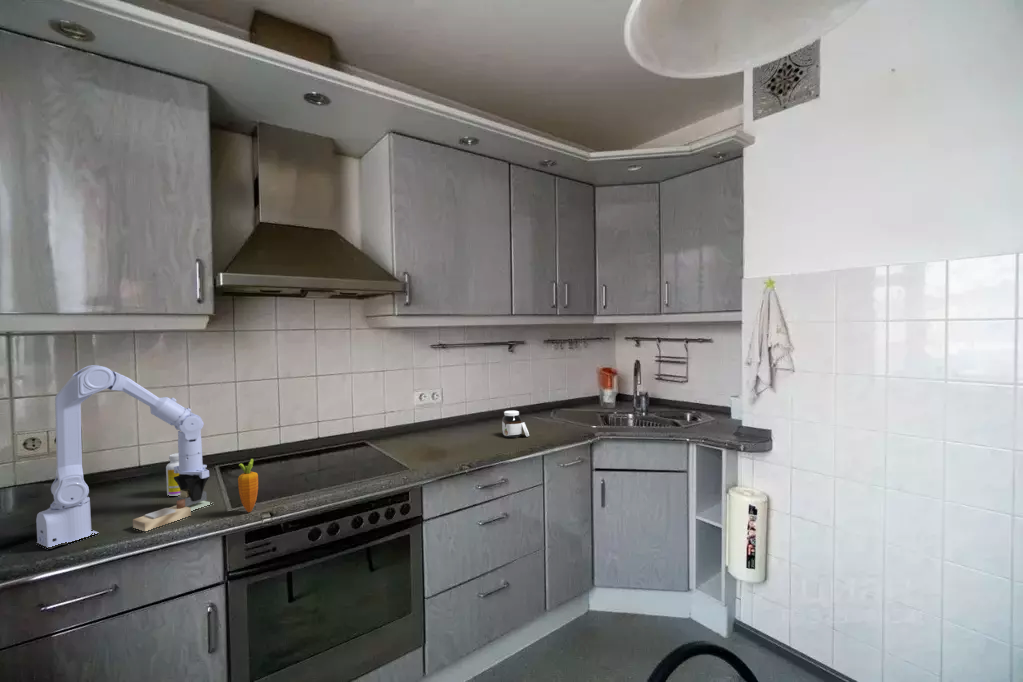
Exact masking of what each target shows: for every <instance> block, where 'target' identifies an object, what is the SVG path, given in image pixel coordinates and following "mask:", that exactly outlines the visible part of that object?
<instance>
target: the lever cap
mask: <svg viewBox="0 0 1023 682" xmlns="http://www.w3.org/2000/svg"><path fill="white" fill-rule="evenodd" d="M207 497H208V495H207V491H205V490H203V493H202V497H201V500H198V501H194V502H193V501H192V498H191V493H190V489H187V488H185V489H182V490H180V496H178V497H176V501H177V500H180V499H185V507H186V506H189V505H192V504H195V503H198V502H201V501H207V500H208V498H207Z"/></svg>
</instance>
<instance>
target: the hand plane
mask: <svg viewBox="0 0 1023 682" xmlns="http://www.w3.org/2000/svg"><path fill="white" fill-rule="evenodd" d="M175 504H176V505H173V506H171V507H164V508H161V509H158V510H155V511H152V512H149V513H146V514H144V515H143V516H140V517H139V516H138V517H136V518H133V519H132V529H133V528H136V529H139V530H142V531H148V530H151V529H153V528H156V527H159V526H162V525H165V524H168V523H171V522H174V521H177V520H180V519H182V518H185V517H188V516H191V517H192V512H191V508H189V507H185V499H180V500H177V499H176V503H175ZM180 521H181V520H180ZM177 522H178V521H177Z"/></svg>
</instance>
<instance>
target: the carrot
mask: <svg viewBox="0 0 1023 682" xmlns="http://www.w3.org/2000/svg"><path fill="white" fill-rule="evenodd" d="M253 465H254V458H250V461H249V462H248V464H247V465H244V464H243V463H239V464H238V467H240V469H241V470H242V471H243V472H242V473H241V474H240V475H239V476H238V478H237V484H238V493H239V497H240V501H241V504H242V506H243V508H244V509H245V511H246V512H247V513H249V512H250V513H251V512H252V511H253V509H254V507H255V505H256V502H257V497H258V492H259V475H258V473H257V472H254V471H251V470H252V468H253V467H254V466H253Z"/></svg>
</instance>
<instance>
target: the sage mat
mask: <svg viewBox="0 0 1023 682" xmlns="http://www.w3.org/2000/svg"><path fill="white" fill-rule="evenodd" d="M210 502H211V501H207V500H204V501H201V502H198V503H195V504H192V505H189V506H186V507H189V508H191V511H193V510H195V509H198V508H201V507H204V506H207V505H210ZM212 503H213V502H212ZM212 503H211V504H212ZM210 506H211V505H210ZM207 507H208V506H207ZM204 508H205V507H204ZM193 512H194V511H193Z"/></svg>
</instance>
